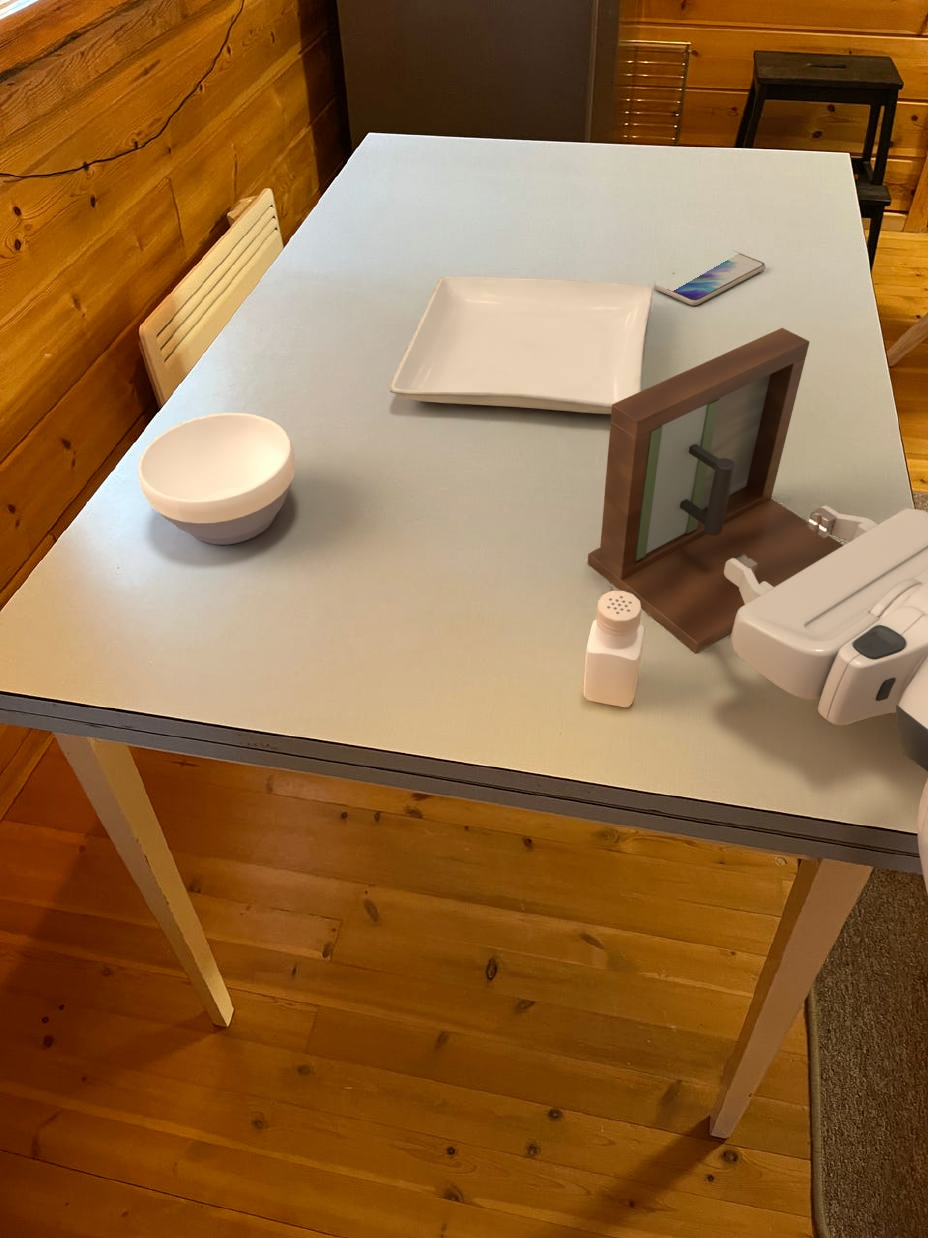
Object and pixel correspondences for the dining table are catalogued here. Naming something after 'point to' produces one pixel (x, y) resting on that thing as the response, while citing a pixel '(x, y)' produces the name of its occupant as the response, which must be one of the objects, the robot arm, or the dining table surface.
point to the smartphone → (716, 279)
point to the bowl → (219, 475)
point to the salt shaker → (614, 650)
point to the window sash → (682, 480)
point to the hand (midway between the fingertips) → (773, 538)
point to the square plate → (527, 344)
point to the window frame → (754, 523)
